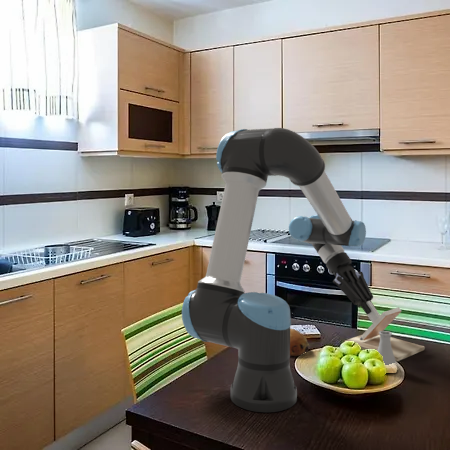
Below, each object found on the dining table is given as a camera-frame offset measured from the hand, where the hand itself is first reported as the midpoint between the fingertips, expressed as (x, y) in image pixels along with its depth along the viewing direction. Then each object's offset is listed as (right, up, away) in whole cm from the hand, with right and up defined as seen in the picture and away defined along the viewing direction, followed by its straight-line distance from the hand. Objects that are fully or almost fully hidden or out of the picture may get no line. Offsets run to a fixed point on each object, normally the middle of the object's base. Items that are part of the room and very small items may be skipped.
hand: (378, 321), depth 153 cm
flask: (-4, -9, -18) cm, 21 cm away
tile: (-2, -5, +2) cm, 6 cm away
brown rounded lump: (-26, -8, -4) cm, 28 cm away
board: (+1, -7, -1) cm, 7 cm away
